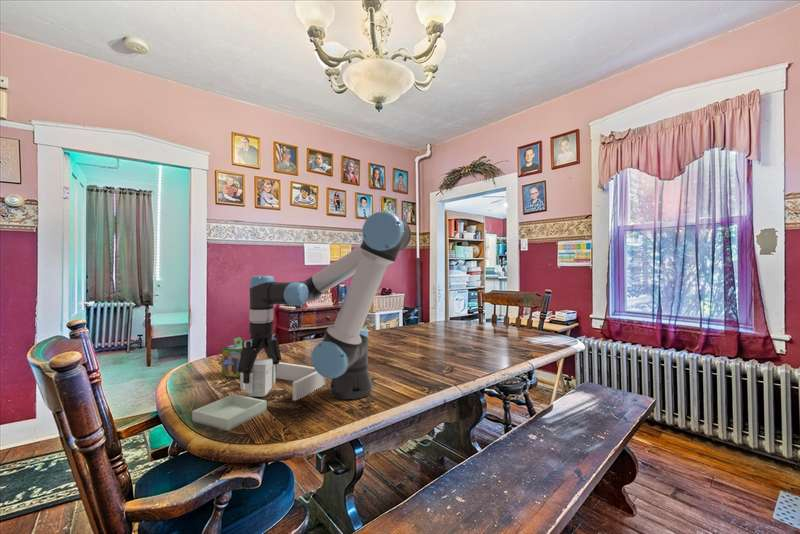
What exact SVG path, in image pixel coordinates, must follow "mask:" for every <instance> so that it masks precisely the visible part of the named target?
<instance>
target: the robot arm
mask: <svg viewBox="0 0 800 534" xmlns="http://www.w3.org/2000/svg"><path fill="white" fill-rule="evenodd" d="M361 233H362V241H361V243H360V245H359V246H358V247H356V248H355V249H352V251H350V252H348V253H346V254H345V255H343V256H342V257H340V258H339V259H337V260H336V261H334V262H332V263H331V264H329V265H328V266H326V267H324V268H323V269H321V270H319V271H317V272H316V273H314V274H313V275H312V276H310V277H309V278H306V279H305V280H302V281H301V280H300V281H299V280H298V281H281V282H278V281H275V277H274V276H273V275H252V276H251V277H250V281H249V288H248V289H249V319H248V320H249V321H250V322H249V325H248V327H249V328H248V332H249V334H250V338H249V339H248V340H242V353H241V357H240V362H239V367H238V372H240V373H243V382H244V383H245V390H244V393H246V394H248V393H250V394H251V393H253V373H251V370H252V367H253V365H254V362H255V360H256V359H257V356H258V354H260V352H261V350H264V353H265V355H266V356H267V357H266V358H272V359H273V369H272V385H273V384H276V378H275V373H276V365H277V364H279V362H280V361H282V355H281V349H280V344H279V334H278V333H277V334H276V333H273V332H274V309H275V308H274V305H282V306H285V305H286V306H292V307H294V306H303V305H304V304H305V303H306V302H307V303H308V302H312V301H315V300H318V299H320V298H321V297H322V295H323V294H324V293H326V292H327V291H329V290H331V289H332V288H334V287H335V286H337V285H339V284H341V283H343V282H344V281H346V280H347V279H349V278H351V277H352V276H353V277H352V279H351V281H350V284H349V287H348V289H347V292H346V293H345V294H346V295H344V299H343V302H342V304H341V306H340V309H339V310H338V314H337V315H336V318H335V321H334V323H333V324H332V325H329V326H327V328H326V329H325V332H324V335H323V338H322V340H321V342H319V343H317V344H316V346H314V347H313V349H312V352H311V364H312V365H313V366H312V367H314V368H315V370H316V371H317V372H318V373H319V374H320V375H321V376H323V377H325V379H331V383H330V385H329V394H330V396H331V397H333V398H334V399H340V400H345V399H353V400H359V399H358V398H360V399H363V397H364V398H366V397H369V396H370V395H371V394H372V393H371V392H373V383H372V378H371V376H370V373H369V366H368V365H369V339H370V338H369V337H370V336H369V330H368V329H367V328H364V327H363V326H364V324H365V322H366V319H367V317H368V315H369V312H370V309H371V308H372V305H373V303H374V300H375V298H376V295H377V293H378V290H379V288H380V285H381V283H382V281H383V278H384V276H385V274H386V271H387V269H388V266H389V265H392V264H394V263H395V262H396V260H397V258H398V255H399V253H400V252H402V251H403V250H404V249H406V248H407V247H408V246H409V244H410V242H411V238H412V232H411V228H410V226H409V223H408V222H407V221H405V220H404V219H403V218H401V217H399V216H398V215H397V214H395V213H394V212H393V213H392V212H390V211H384V210H383V211H377V212H375V213H372V214H371V215H369V216H368V218H366V219H365V222H364V223H363V225H362V231H361ZM247 368H248V369H247ZM370 393H371V394H370ZM369 394H370V395H369ZM365 396H366V397H365Z"/></svg>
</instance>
